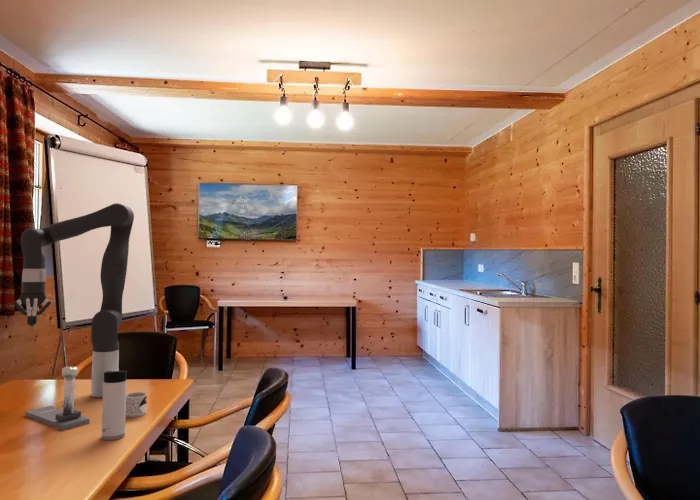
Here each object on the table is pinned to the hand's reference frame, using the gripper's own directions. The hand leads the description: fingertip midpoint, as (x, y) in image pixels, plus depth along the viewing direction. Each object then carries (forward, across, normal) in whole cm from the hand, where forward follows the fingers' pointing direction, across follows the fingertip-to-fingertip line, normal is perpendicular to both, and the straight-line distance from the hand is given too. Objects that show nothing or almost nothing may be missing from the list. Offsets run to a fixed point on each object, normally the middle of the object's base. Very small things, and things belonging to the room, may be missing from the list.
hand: (32, 325), depth 179 cm
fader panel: (+27, +14, -33) cm, 45 cm away
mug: (+27, +38, -34) cm, 58 cm away
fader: (+25, +18, -39) cm, 50 cm away
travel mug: (+27, +32, -56) cm, 70 cm away
